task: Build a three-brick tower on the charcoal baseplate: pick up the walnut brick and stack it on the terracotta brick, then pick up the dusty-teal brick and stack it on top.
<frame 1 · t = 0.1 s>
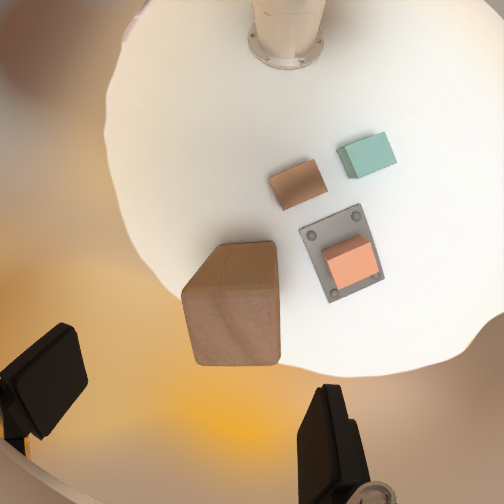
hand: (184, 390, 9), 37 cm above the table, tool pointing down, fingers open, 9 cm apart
baseplate: (344, 254, 45), on the table
walnut brick: (295, 183, 42), on the table
block: (248, 269, 47), on the table
teal brick: (360, 156, 40), on the table
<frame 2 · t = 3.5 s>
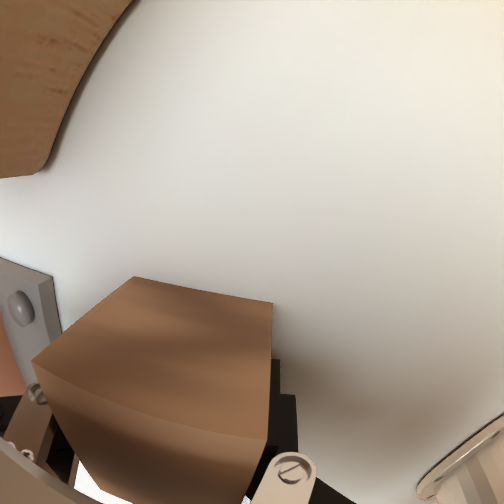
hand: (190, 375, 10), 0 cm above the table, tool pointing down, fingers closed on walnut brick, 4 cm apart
baseplate: (1, 330, 11), on the table
walnut brick: (194, 367, 10), on the table, touching gripper
block: (40, 56, 7), on the table
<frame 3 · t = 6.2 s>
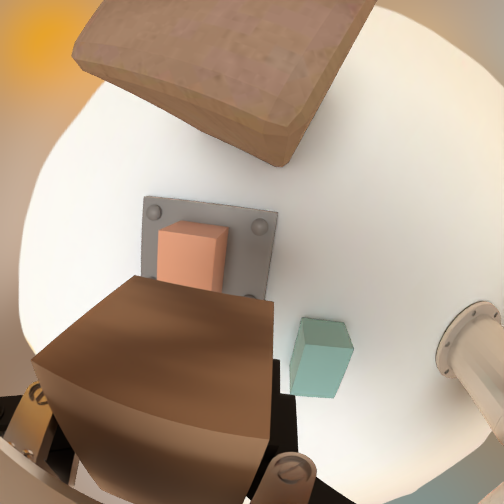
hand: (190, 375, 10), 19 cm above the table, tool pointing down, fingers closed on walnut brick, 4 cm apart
baseplate: (203, 254, 29), on the table
walnut brick: (195, 367, 10), point 19 cm above the table, touching gripper
block: (261, 107, 25), on the table
teal brick: (315, 344, 31), on the table
when the fingers open (8 cm above the table, at t = 9.0 s): walnut brick drops 1 cm, resting on baseplate.
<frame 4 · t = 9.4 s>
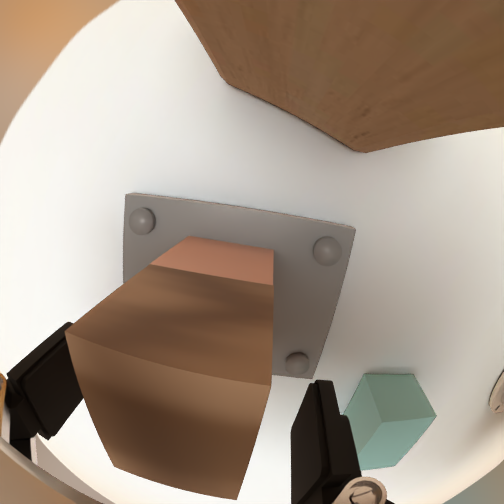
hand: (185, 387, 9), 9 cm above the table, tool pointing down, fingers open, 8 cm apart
baseplate: (226, 291, 18), on the table
walnut brick: (203, 348, 11), point 6 cm above the table, touching baseplate
block: (326, 58, 13), on the table
teal brick: (373, 402, 20), on the table
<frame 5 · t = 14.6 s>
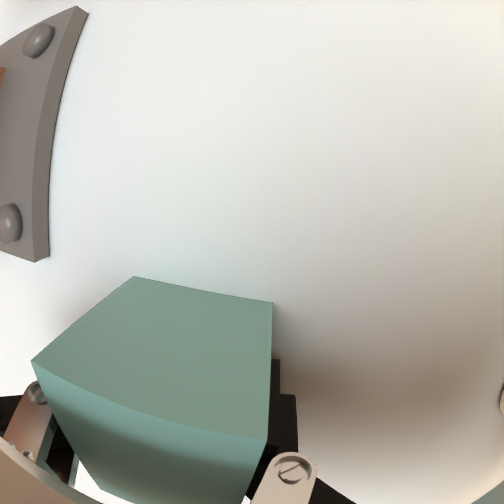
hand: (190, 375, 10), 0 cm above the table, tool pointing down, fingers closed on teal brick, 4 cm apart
teal brick: (194, 367, 10), on the table, touching gripper
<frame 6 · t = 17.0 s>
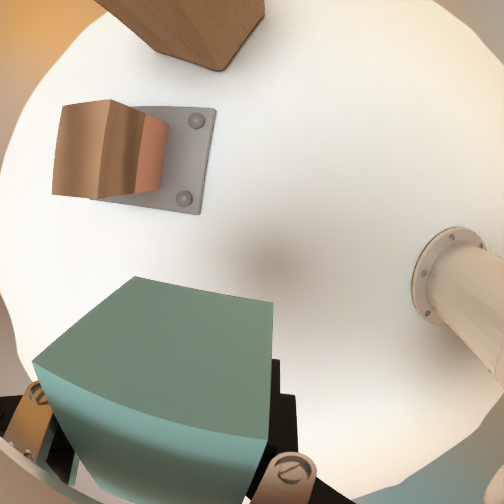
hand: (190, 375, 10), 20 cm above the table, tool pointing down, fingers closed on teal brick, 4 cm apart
baseplate: (147, 155, 27), on the table
walnut brick: (115, 152, 21), point 6 cm above the table, touching baseplate
block: (208, 30, 23), on the table
teal brick: (194, 367, 10), point 19 cm above the table, touching gripper
when the fingers open (14 cm above the table, at t = 19.7 s): teal brick drops 1 cm, resting on walnut brick.
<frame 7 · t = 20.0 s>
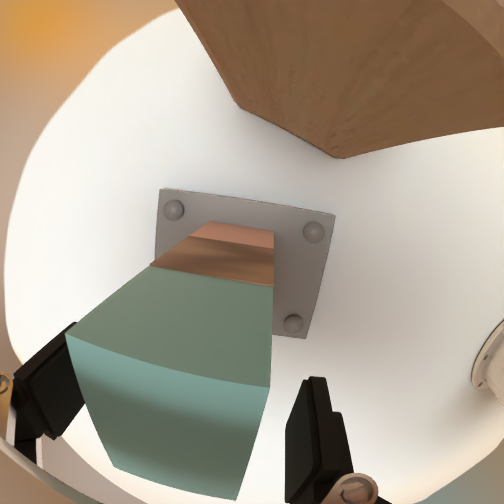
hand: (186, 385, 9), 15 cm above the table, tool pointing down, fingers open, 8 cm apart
baseplate: (237, 265, 23), on the table
walnut brick: (224, 297, 17), point 6 cm above the table, touching baseplate, teal brick
block: (314, 84, 19), on the table
teal brick: (202, 349, 11), point 12 cm above the table, touching walnut brick
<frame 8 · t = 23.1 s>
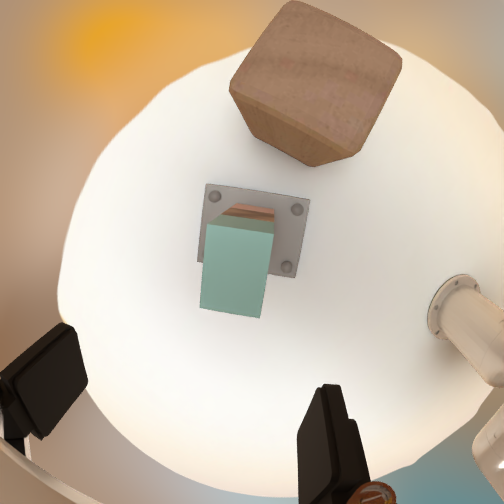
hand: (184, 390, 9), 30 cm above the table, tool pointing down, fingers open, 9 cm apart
baseplate: (252, 230, 38), on the table
walnut brick: (247, 240, 32), point 6 cm above the table, touching baseplate, teal brick
block: (298, 121, 34), on the table
teal brick: (242, 254, 26), point 12 cm above the table, touching walnut brick
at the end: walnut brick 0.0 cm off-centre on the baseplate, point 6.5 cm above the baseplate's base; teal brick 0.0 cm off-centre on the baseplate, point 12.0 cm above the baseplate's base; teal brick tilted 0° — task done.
